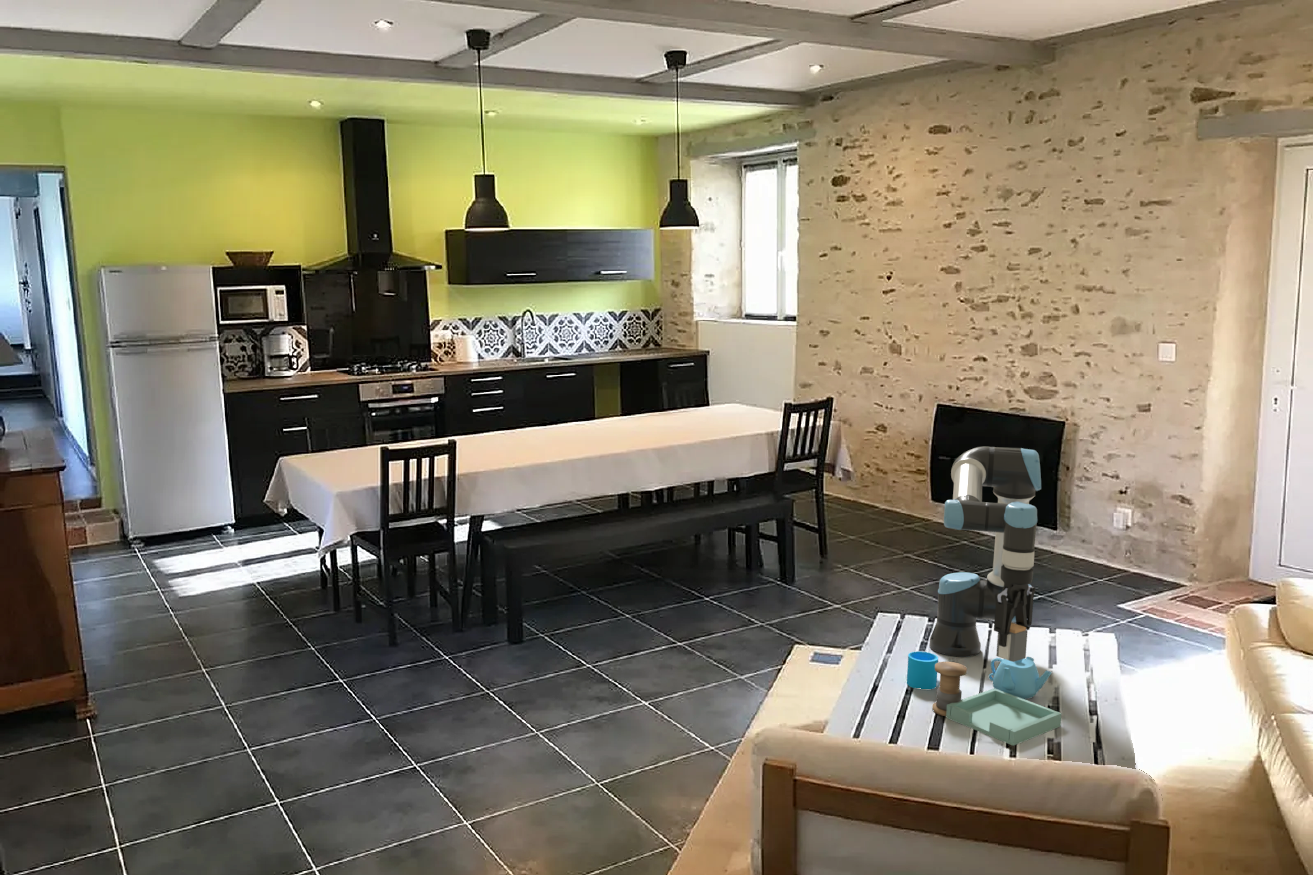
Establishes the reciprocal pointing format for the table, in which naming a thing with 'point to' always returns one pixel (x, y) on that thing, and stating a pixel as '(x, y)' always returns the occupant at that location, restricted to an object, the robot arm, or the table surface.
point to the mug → (922, 670)
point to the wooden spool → (948, 685)
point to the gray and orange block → (1016, 642)
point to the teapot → (1018, 677)
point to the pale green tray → (1004, 716)
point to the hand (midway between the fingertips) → (1010, 655)
